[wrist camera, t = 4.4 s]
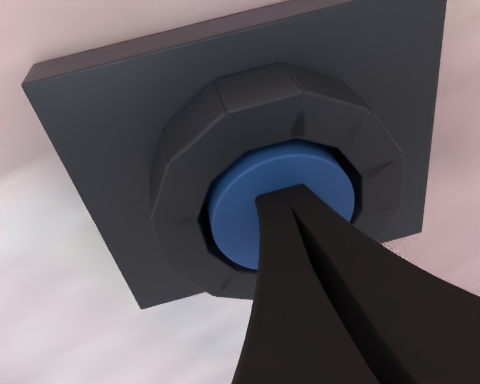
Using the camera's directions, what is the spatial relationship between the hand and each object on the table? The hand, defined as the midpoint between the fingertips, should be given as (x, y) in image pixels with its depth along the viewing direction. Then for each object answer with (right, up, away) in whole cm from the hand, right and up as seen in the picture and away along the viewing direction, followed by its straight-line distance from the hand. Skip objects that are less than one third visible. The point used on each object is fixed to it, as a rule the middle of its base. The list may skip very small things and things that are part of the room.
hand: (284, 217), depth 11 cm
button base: (-1, +2, +3) cm, 4 cm away
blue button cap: (0, +1, +2) cm, 2 cm away
